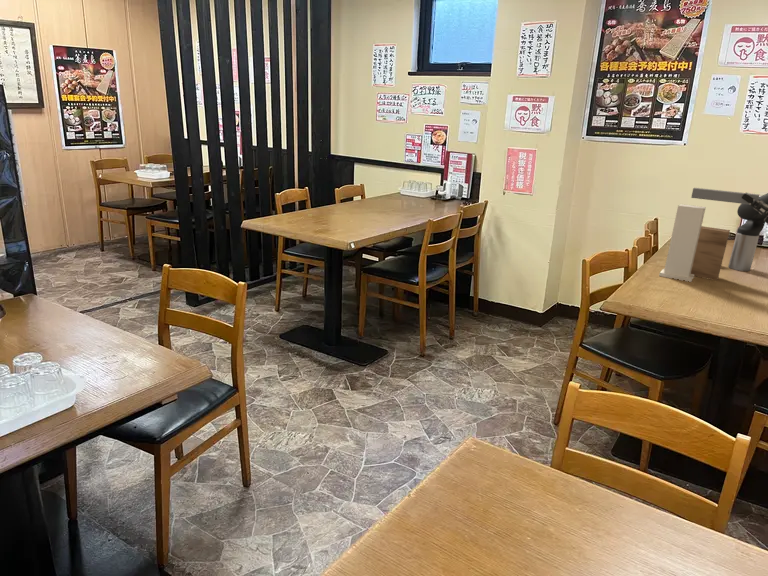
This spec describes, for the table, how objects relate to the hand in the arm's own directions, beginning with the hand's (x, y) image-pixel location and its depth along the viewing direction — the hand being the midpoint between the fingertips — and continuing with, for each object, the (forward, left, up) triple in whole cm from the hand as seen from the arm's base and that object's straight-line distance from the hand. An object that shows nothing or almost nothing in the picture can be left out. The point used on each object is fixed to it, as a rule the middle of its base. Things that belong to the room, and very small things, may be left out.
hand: (743, 194), depth 232 cm
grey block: (0, -7, -3) cm, 7 cm away
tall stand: (0, -18, -39) cm, 43 cm away
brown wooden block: (-10, -12, -39) cm, 42 cm away
